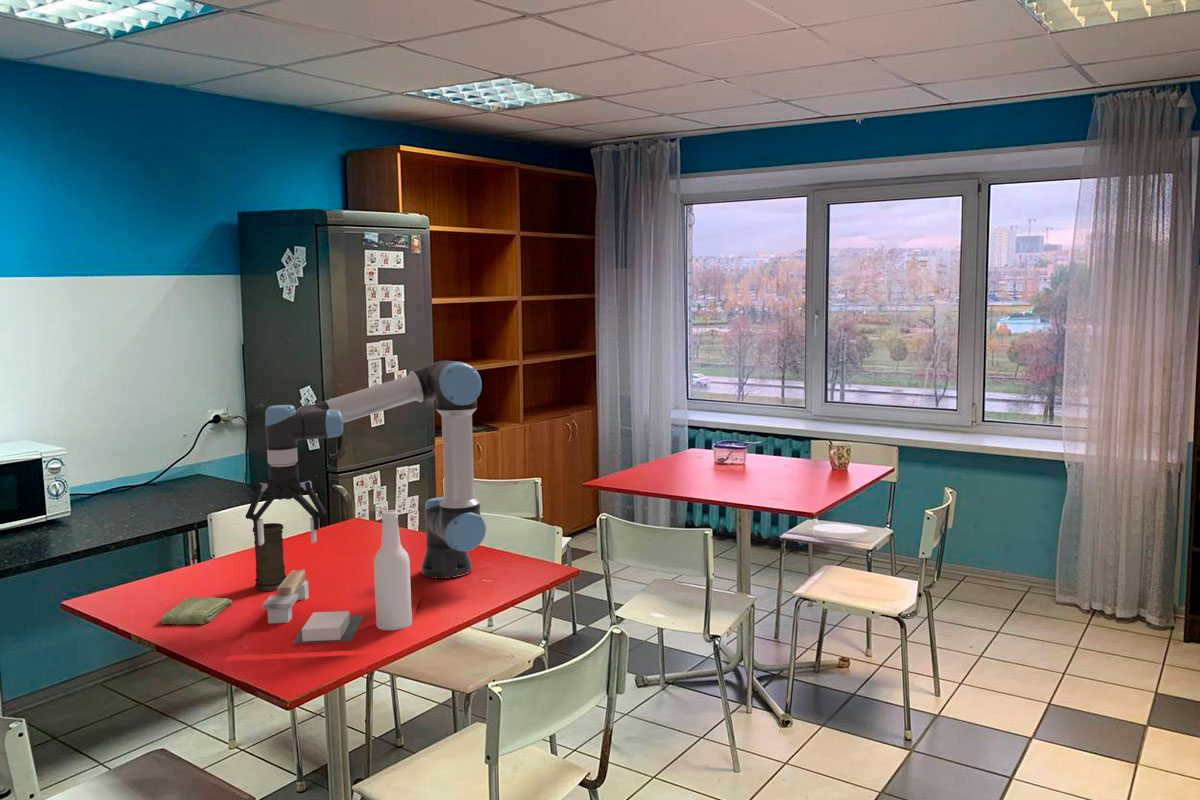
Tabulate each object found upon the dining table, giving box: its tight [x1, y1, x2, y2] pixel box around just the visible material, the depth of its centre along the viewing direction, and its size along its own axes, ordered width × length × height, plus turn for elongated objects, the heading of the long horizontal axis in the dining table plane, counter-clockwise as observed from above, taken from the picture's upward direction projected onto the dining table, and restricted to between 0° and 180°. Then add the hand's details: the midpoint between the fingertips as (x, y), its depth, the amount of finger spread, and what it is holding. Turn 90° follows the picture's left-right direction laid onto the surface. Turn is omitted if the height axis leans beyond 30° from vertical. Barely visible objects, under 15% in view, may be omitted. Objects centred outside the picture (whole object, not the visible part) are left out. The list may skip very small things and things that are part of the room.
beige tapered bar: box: [261, 569, 307, 610], centre depth 247 cm, size 7×24×3 cm, turn 5°
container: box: [252, 522, 287, 592], centre depth 270 cm, size 9×9×18 cm
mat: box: [291, 615, 365, 644], centre depth 232 cm, size 14×18×1 cm
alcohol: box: [373, 509, 413, 631], centre depth 233 cm, size 9×9×30 cm
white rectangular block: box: [301, 610, 351, 642], centre depth 229 cm, size 9×3×12 cm
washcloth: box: [160, 596, 233, 626], centre depth 247 cm, size 13×18×3 cm
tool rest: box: [266, 580, 310, 624], centre depth 248 cm, size 5×22×5 cm, turn 5°
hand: (287, 543), depth 246 cm, fingers open, 13 cm apart
